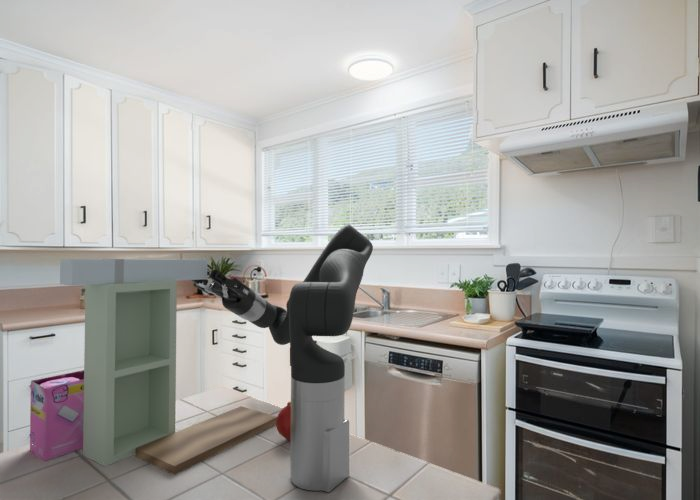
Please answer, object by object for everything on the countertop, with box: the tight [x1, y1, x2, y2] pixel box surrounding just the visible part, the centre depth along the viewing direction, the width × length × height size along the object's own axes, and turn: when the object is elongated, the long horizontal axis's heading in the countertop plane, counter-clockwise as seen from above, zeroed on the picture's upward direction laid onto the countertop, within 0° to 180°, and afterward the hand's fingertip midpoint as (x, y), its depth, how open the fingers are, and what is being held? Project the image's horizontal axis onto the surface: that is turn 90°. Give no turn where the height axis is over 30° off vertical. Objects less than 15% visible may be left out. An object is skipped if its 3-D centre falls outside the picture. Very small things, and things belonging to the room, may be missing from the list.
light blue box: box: [59, 258, 208, 286], centre depth 83 cm, size 5×28×5 cm, turn 148°
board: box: [134, 405, 278, 476], centre depth 84 cm, size 12×26×2 cm, turn 147°
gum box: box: [29, 369, 84, 461], centre depth 87 cm, size 24×8×14 cm, turn 145°
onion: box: [275, 401, 291, 442], centre depth 84 cm, size 6×6×8 cm
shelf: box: [82, 281, 178, 467], centre depth 81 cm, size 8×14×32 cm, turn 147°
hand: (199, 272), depth 95 cm, fingers open, 8 cm apart
